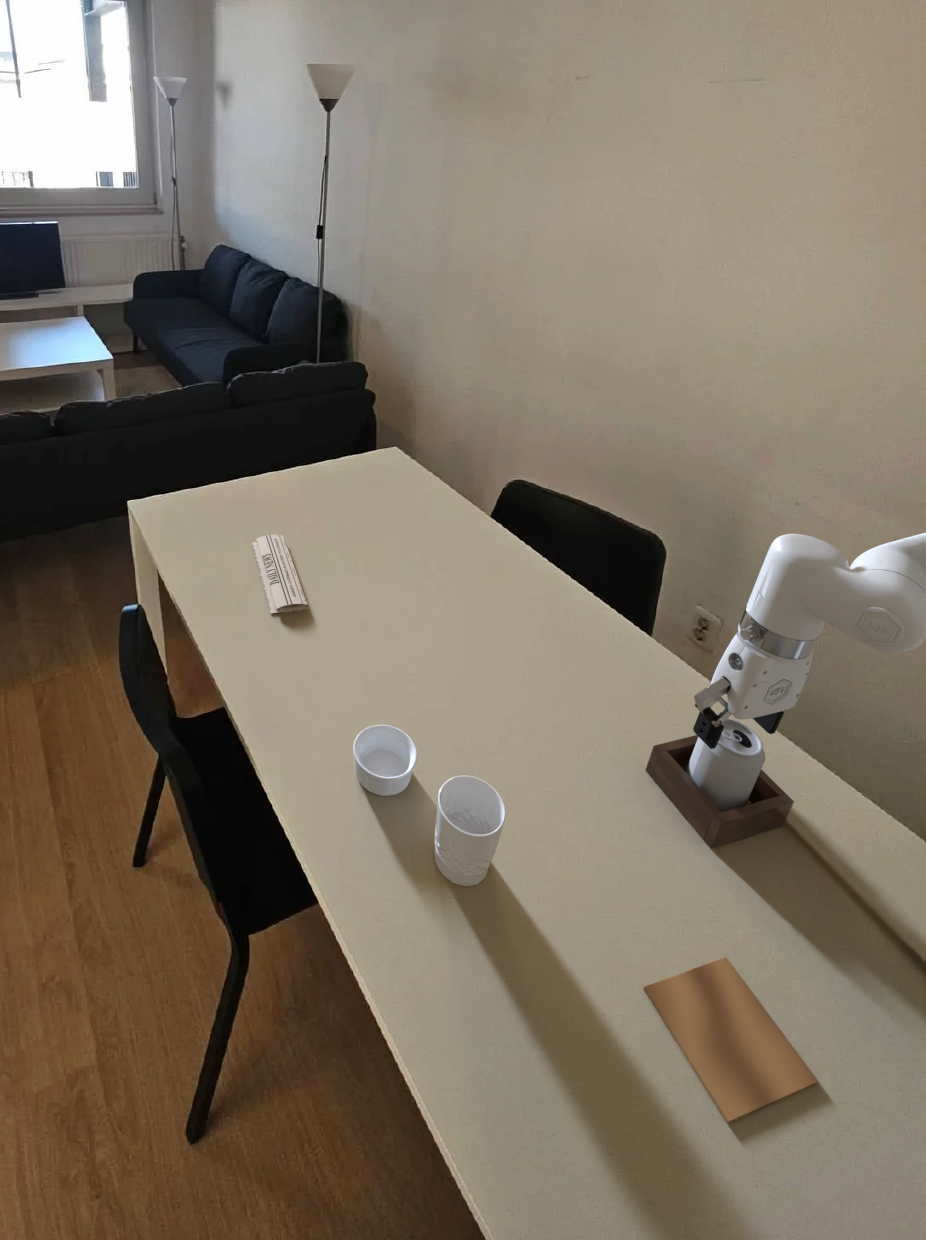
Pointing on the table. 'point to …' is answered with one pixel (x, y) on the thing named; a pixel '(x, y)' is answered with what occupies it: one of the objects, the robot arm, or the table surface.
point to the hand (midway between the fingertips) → (733, 732)
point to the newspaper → (278, 575)
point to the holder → (701, 811)
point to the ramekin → (384, 759)
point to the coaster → (729, 1039)
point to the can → (728, 765)
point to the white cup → (467, 829)
